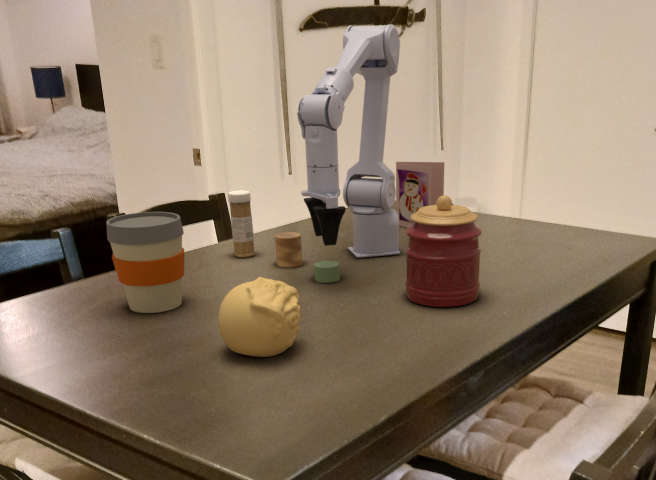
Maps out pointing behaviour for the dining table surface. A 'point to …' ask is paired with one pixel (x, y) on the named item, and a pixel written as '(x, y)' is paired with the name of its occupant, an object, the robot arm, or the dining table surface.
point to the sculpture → (260, 317)
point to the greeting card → (417, 187)
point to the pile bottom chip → (289, 259)
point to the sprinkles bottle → (241, 223)
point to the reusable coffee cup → (148, 259)
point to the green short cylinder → (327, 271)
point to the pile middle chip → (288, 242)
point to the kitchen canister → (443, 255)
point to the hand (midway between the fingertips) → (325, 240)
